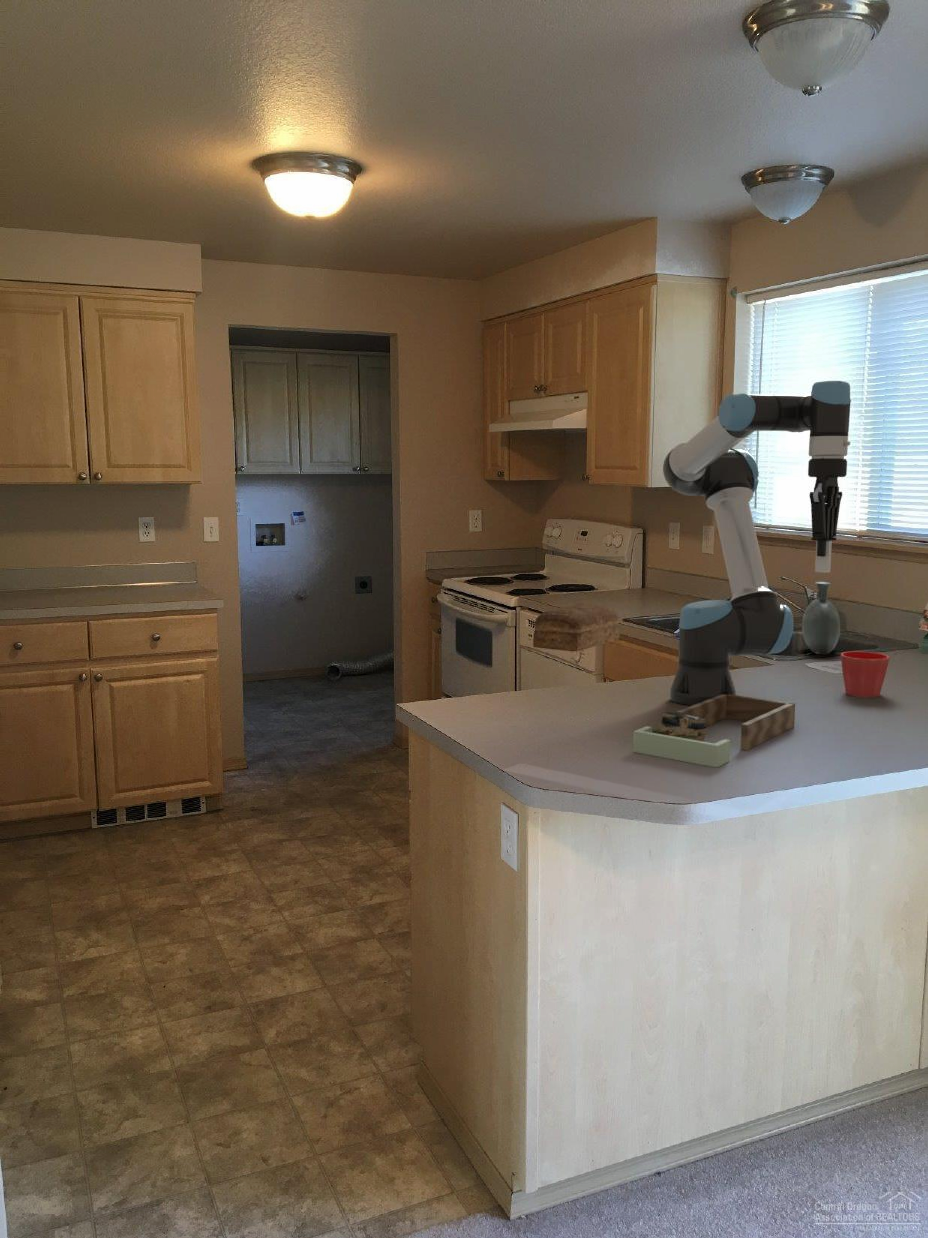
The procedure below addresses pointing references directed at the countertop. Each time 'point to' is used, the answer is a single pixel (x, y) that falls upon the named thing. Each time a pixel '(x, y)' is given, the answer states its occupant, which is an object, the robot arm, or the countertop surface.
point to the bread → (576, 627)
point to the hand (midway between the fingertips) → (822, 571)
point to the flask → (821, 623)
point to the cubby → (747, 716)
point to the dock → (681, 748)
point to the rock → (682, 726)
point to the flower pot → (864, 672)
